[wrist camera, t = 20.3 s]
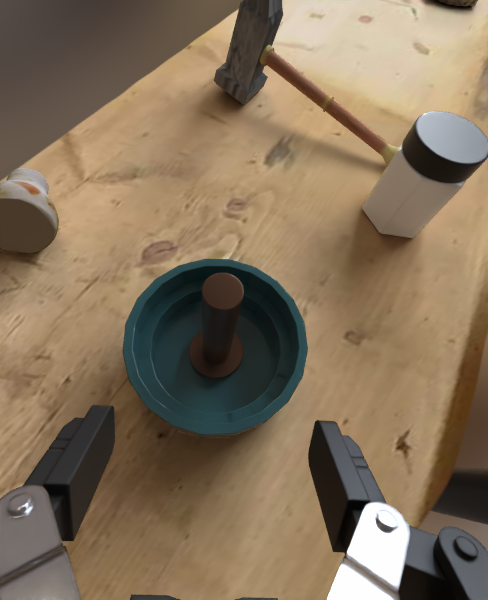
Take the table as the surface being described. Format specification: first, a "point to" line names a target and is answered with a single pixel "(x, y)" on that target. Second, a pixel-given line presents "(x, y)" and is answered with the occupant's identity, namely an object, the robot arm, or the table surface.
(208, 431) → the bowl
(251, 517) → the table surface
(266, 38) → the hammer
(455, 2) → the concrete sample
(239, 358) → the brown flanged rod
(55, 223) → the mug
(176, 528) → the table surface
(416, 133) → the jar
